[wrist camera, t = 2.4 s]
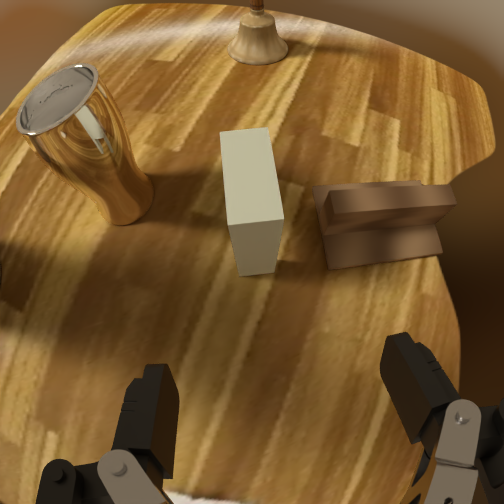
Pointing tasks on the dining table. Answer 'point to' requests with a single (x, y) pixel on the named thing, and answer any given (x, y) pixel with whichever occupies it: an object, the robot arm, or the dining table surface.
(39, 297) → the dining table surface
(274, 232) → the pale slotted block
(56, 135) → the beer glass
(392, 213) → the walnut rail
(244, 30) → the hand bell
